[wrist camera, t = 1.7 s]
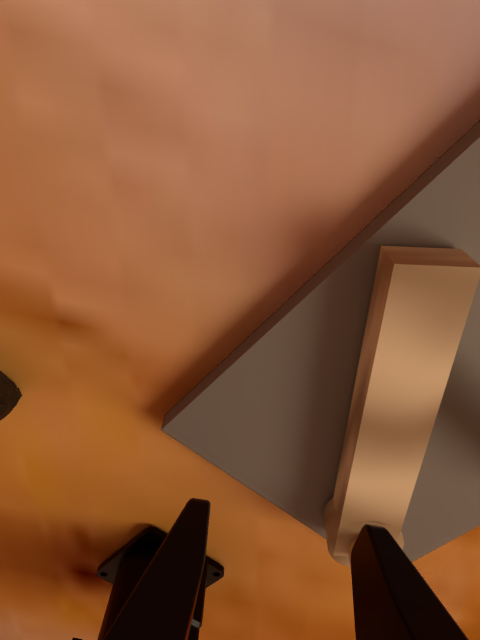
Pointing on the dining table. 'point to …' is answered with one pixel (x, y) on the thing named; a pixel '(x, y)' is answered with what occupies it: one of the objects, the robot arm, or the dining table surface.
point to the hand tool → (8, 395)
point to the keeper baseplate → (348, 374)
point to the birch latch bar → (398, 387)
